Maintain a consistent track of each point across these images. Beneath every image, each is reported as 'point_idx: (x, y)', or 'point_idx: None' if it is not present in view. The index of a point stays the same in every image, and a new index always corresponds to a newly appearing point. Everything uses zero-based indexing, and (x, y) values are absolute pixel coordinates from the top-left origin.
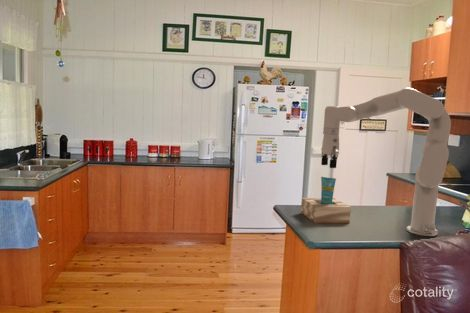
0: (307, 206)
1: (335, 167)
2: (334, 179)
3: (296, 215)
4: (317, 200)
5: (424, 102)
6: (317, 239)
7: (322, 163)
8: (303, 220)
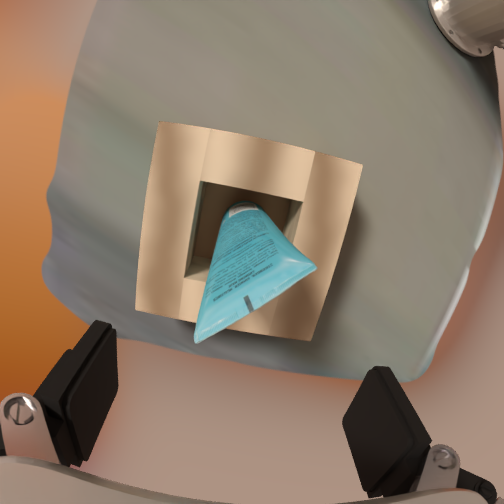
0: None
1: (386, 374)
2: (304, 272)
3: None
4: (187, 255)
5: None
6: (412, 366)
7: (113, 398)
8: None
